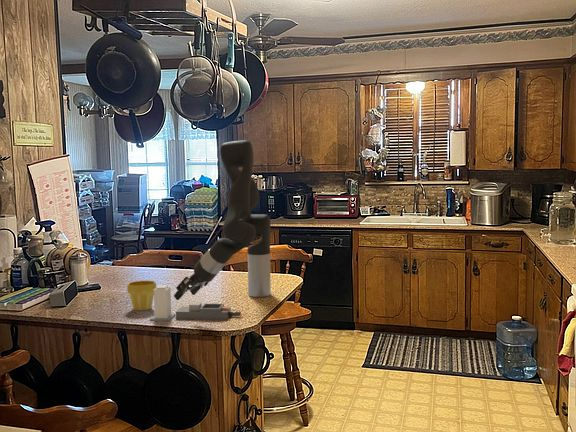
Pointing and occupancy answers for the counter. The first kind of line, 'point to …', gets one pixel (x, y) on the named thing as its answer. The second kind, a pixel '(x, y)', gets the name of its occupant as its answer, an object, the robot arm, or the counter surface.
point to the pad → (162, 318)
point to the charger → (162, 302)
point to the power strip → (205, 311)
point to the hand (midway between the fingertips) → (184, 295)
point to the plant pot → (141, 294)
